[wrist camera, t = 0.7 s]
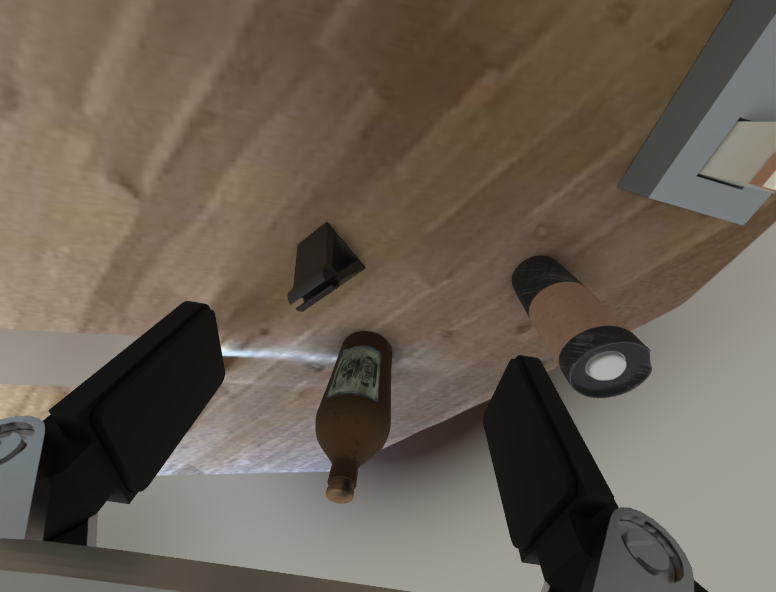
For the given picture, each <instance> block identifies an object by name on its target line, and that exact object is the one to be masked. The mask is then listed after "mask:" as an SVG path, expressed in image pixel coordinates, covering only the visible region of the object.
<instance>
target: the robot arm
mask: <svg viewBox="0 0 776 592" xmlns="http://www.w3.org/2000/svg"><path fill="white" fill-rule="evenodd" d="M224 377H225V369H224V363H223V357H222V352H221V346H220V340H219V335H218V329H217V323H216V317H215V313H214V311H213V310H211V309H210V307H209V306H208V305H207V304H203V303H197V302H191V301H185V302H183V303H182V304H181V305H179V306H178V307H177V308H176V309H174V310H173V311H172V312H171V313H169V314H168V315H167V316H166V317H164V318H163V319H162V320H161V321H159V322H158V323H157V324H156V325H154V326H153V327H152V328H151V329H149V330H148V331H147V332H146V333H144V334H143V335H142V336H141V337H139V338H138V339H137V340H136V341H134V342H133V343H132V344H131V345H129V346H128V347H127V348H126V349H124V350H123V351H122V352H121V353H119V354H118V355H117V356H116V357H114V358H113V359H112V360H111V361H110V362H108V363H107V364H106V365H105V366H103V367H102V368H101V369H100V370H98V371H97V372H96V373H94V374H93V375H92V376H91V377H90V378H88V379H87V380H86V381H85V382H83V383H82V384H81V385H80V386H78V387H77V388H76V389H75V390H73V391H72V392H71V393H70V394H68V395H67V396H66V397H65V398H63V399H62V400H61V401H60V402H58V403H57V404H56V405H55V406H53V407H52V408H51V409H50V410H48V411H49V412H50V414H51V415H50V416H48V417H47V418H46V419H45V420H43V421H41V420H40V419H39V418H36V417H32V416H15V417H10V418H6V419H1V420H0V592H409V591H402V590H395V589H388V588H382V587H376V586H369V585H361V584H355V583H347V582H341V581H334V580H327V579H320V578H313V577H307V576H300V575H293V574H286V573H279V572H272V571H265V570H258V569H251V568H244V567H237V566H229V565H223V564H216V563H209V562H201V561H194V560H187V559H180V558H173V557H165V556H158V555H151V554H144V553H137V552H130V551H123V550H115V549H107V548H98V547H96V543H97V518H98V511H99V510H100V509H101V507H102V506H103V505H104V504H105V502H106V501H112V502H118V503H126V504H130V502H131V501H132V500H133V498H134V497H135V495H136V494H137V493H138V492H141V491H143V490H144V489H145V488H147V487H148V486H149V484H150V483H151V482H152V480H153V479H154V477H155V476H156V475H157V473H158V472H159V470H160V469H161V468H162V466H163V465H164V464H165V462H166V461H167V459H168V458H169V457H170V455H171V454H172V452H173V451H174V450H175V448H176V447H177V445H178V444H179V443H180V441H181V440H182V438H183V437H184V436H185V434H186V433H187V431H188V430H189V429H190V427H191V426H192V424H193V423H194V422H195V420H196V419H197V417H198V416H199V415H200V413H201V412H202V410H203V409H204V408H205V406H206V405H207V404H208V402H209V401H210V399H211V398H212V397H213V395H214V394H215V392H216V391H217V390H218V388H219V387H220V385H221V384H222V382H223V380H224ZM483 424H484V429H485V433H486V437H487V442H488V446H489V450H490V454H491V458H492V462H493V467H494V471H495V475H496V479H497V483H498V487H499V492H500V496H501V500H502V504H503V508H504V513H505V517H506V521H507V525H508V529H509V533H510V538H511V541H512V543H513V545H514V546H515V547H516V548H518V549H519V553H520V557H521V561H522V562H523V563H530V564H537V565H540V566H541V569H542V573H543V576H544V579H545V582H544V585H543V588H542V590H541V592H708V591H707V590H705V589H704V588H703V587H701V585H699V584H698V583H697V582H696V581H694V578H693V572H692V567H691V565H690V563H689V561H688V559H687V557H686V555H685V553H684V552H683V550H682V549H681V547H680V546H679V544H678V543H677V542H676V541H675V539H674V538H673V537H672V536H671V535H670V534H669V533H668V532H667V531H666V530H665V529H664V528H663V527H662V526H661V525H659V524H658V523H657V522H656V521H655V520H654V519H652V518H650V517H649V516H647V515H645V514H644V513H642V512H640V511H637V510H634V509H632V508H624V507H621V508H618V506H617V504H616V502H615V500H614V496H613V494H612V493H611V490H610V488H609V487H608V485H607V483H606V481H605V479H604V477H603V476H602V474H601V472H600V470H599V468H598V466H597V464H596V462H595V461H594V459H593V457H592V455H591V453H590V451H589V450H588V448H587V446H586V444H585V442H584V440H583V438H582V437H581V435H580V433H579V431H578V429H577V427H576V425H575V424H574V422H573V420H572V418H571V416H570V414H569V413H568V411H567V409H566V407H565V405H564V403H563V401H562V399H561V398H560V396H559V394H558V392H557V390H556V388H555V387H554V385H553V383H552V381H551V379H550V377H549V375H548V374H547V372H546V370H545V368H544V366H543V364H542V362H541V361H540V360H539V359H538V358H534V357H528V356H522V355H518V356H517V357H516V358H515V359H511V360H510V361H509V363H508V365H507V367H506V370H505V372H504V374H503V376H502V378H501V380H500V382H499V384H498V386H497V388H496V390H495V392H494V394H493V396H492V398H491V400H490V402H489V404H488V407H487V409H486V411H485V413H484V417H483Z"/></svg>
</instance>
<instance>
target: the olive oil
mask: <svg viewBox="0 0 776 592" xmlns="http://www.w3.org/2000/svg"><path fill="white" fill-rule="evenodd" d="M391 363H392V350H391V347H390V345H389V343H388V342H387V341H386V340H385V339H384V338H383V337H381V336H380V335H378V334H375V333H371V332H358V333H354V334H352V335H350V336H349V337H347V338H346V339H345V341H344V342H343V344H342V347H341V350H340V353H339V356H338V358H337V361H336V364H335V367H334V369H333V372H332V375H331V377H330V380H329V383H328V385H327V388H326V391H325V393H324V396H323V398H322V401H321V403H320V406H319V409H318V412H317V415H316V436H317V440H318V442H319V444H320V446H321V448H322V449H323V451H324V452H325V454H326V455H327V457H328V458H329V460H330V461H331V463H332V467H331V470H330V474H329V479H328V485H329V486H328V488H327V491H326V497H327V498H328V499H329V500H331V501H333V502H335V503H348V502H350V501H352V499H353V495H354V489H355V487H356V481H357V472H358V468H359V467H360V466H361V465H363V464H364V463H366V462H367V461H368V460H370V459H371V458H372V457H374V456H375V455H376V454H377V453H378V452H379V451H380V450H381V449H382V448H383V446H384V444H385V442H386V440H387V438H388V435H389V431H390V426H391Z"/></svg>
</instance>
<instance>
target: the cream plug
mask: <svg viewBox="0 0 776 592" xmlns="http://www.w3.org/2000/svg"><path fill="white" fill-rule="evenodd" d="M696 176H698V177H701V178H704V179H708V180H713V181H718V182H723V183H728V184H733V185H738V186H742V187H747V188H752V189H757V190H762V191H767V192H772V193H776V122H750V121H737V122H736V123H735V124H734V126H733V127H732V128H731V130H730V131H729V132H728V134H727V135H726V136H725V138H724V139H723V141H722V142H721V143H720V145H719V146H718V147H717V149H716V150H715V151H714V153H713V154H712V155H711V157H710V158H709V159H708V161H707V162H706V163H705V165H704V166H703V167H702V169H701V170H700V171H699V173H698V174H697V175H696Z"/></svg>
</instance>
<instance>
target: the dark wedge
mask: <svg viewBox="0 0 776 592" xmlns="http://www.w3.org/2000/svg"><path fill="white" fill-rule="evenodd" d="M364 269H365V266H364V265H363V264H362V263H361V261H360V260H359V259H358V258H357V257H356V256H355V254H354V253H353V252H352V251H351V250H350V248H349V247H348V246H346V244H345V243H344V241H343V240H342V239H341V238H340V237H339V235H338V234H337V233H336V232H335V231H334V229H333V228H332V227H331V226H330V225H329V224H328V223H327V222H326V223H325V224H324V225H322V226H321V227H320V228H319V229H317V230H316V231H315V232H314V233H312V234H311V235H310V236H309V237H307V238H306V239H305V240H304V241H302V242H301V243H300V244H299V245H298V247H297V257H296V266H295V276H294V285H293V288H292V290H291V291H290V292H289V293H288V301H289V303H290V304H292V303H294V302H295V301H297V300H298V299H300V298H303V299H304V300H303V301H304V303H303V304H301V305H300V306H298V307H297V308H296V310H297V311H304V310H306V309H307V308H309V307H310V306H312V305H313V304H314V303H316V302H317V301H319V300H320V299H322V298H323V297H325V296H326V295H328V294H329V293H331V292H332V291H334V290H335V289H337V288H338V287H339V286H340V285H342V284H343V283H345V282H346V281H348V280H349V279H351V278H352V277H354V276H355V275H357V274H358V273H359V272H361V271H362V270H364Z"/></svg>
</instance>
